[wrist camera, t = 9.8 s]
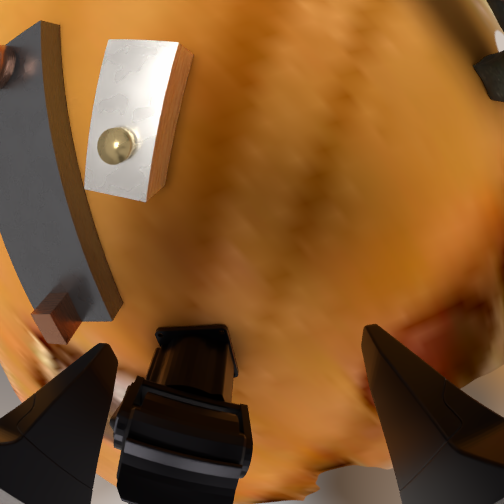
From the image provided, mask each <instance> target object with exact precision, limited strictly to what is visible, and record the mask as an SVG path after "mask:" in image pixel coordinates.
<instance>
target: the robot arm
mask: <svg viewBox="0 0 504 504" xmlns="http://www.w3.org/2000/svg"><path fill="white" fill-rule="evenodd" d="M220 330H222V331H224V332H221V331H220ZM160 333H161V334H160ZM162 334H163V335H162ZM155 336H156V338H157V340H158V343H159V345H160V348H157V349H156V350H155V353H154V355H153V358H152V361H151V364H150V367H149V369H148V372H147V375H146V378H145V379H144V378H143V377H140V376H137V378H136V380H135V382H134V383H133V382H132V384H131V385H130V386H128V388H127V391H126V393H125V396H124V398H123V401H122V402H121V404H120V406H119V407H118V408H117V410H116V411H115V413H114V414H113V416H112V417H111V419H110V426H111V428H112V430H113V431H114V435H113V436H114V448H117V449H120V450H121V455H120V460H119V466H118V471H117V480H118V481H117V489H118V492H119V495H120V498H121V500H122V501H124V502H127V503H128V504H233V501H234V495H235V490H236V487H237V483H238V480H239V478H243V477H244V476H245V475H246V473H247V471H248V468H249V466H250V462H251V457H252V450H253V440H252V433H251V426H250V420H249V413H248V406H247V405H244V404H240V405H239V404H234V403H231V400H232V388H233V378H234V377H237V376H238V367H237V363H236V360H235V356H234V352H233V348H232V344H231V340H230V336H229V332H228V329H227V327H226V326H224V325H214V326H198V327H178V328H158V329H157V330H156V333H155ZM361 347H362V353H363V358H364V362H365V367H366V372H367V377H368V382H369V387H370V390H371V394H372V397H373V400H374V403H375V406H376V409H377V413H378V416H379V419H380V422H381V426H382V429H383V432H384V436H385V439H386V443H387V446H388V450H389V453H390V457H391V460H392V464H393V468H394V471H395V475H396V479H397V483H398V487H399V491H400V496H401V500H402V504H504V417H502V416H500V415H498V414H497V413H495V412H494V411H492V410H490V409H489V408H487V407H485V406H484V405H482V404H481V403H479V402H478V401H476V400H475V399H473V398H472V397H470V396H469V395H467V394H466V393H464V392H463V391H462V390H460V389H459V388H458V387H456V386H455V385H454V384H452V383H451V382H450V381H449V380H447V379H446V380H445V377H444V376H442V375H441V374H440V373H438V372H437V371H436V370H435V369H433V368H432V367H431V366H430V365H428V364H427V363H426V362H425V361H423V360H422V359H421V358H419V357H418V356H417V355H416V354H414V353H413V352H412V351H411V350H409V349H408V348H407V347H405V346H404V345H403V344H402V343H400V342H399V341H398V340H396V339H395V338H394V337H393V336H391V335H390V334H389V333H387V332H386V331H385V330H384V329H382V328H381V327H380V326H378V325H377V324H372V325H366V326H365V327H364V329H363V336H362V343H361ZM117 367H118V360H117V357H116V356H115V354H114V352H113V350H112V348H111V347H110V345H109V344H107V343H99V344H97V345H96V346H94V347H93V348H92V349H90V350H89V351H88V352H86V353H85V354H84V355H83V356H81V357H80V358H79V359H77V360H76V361H75V362H74V363H72V364H71V365H70V366H69V367H67V368H66V369H65V370H63V371H62V372H61V373H60V374H58V375H57V376H56V377H55V378H53V379H52V380H51V381H50V382H48V383H47V384H46V385H44V386H43V387H42V388H41V389H39V390H38V391H37V392H36V393H34V394H33V395H32V396H31V397H29V398H28V399H27V400H26V401H24V402H23V403H22V404H20V405H19V406H18V407H16V408H15V409H13V410H12V411H10V412H9V413H8V414H6V415H5V416H3V417H2V418H0V504H91V497H92V491H93V490H92V489H93V484H94V478H95V473H96V468H97V462H98V457H99V453H100V448H101V443H102V439H103V434H104V430H105V426H106V422H107V417H108V413H109V409H110V405H111V401H112V397H113V391H114V385H115V379H116V373H117Z"/></svg>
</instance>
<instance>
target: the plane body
mask: <svg viewBox="0 0 504 504" xmlns="http://www.w3.org/2000/svg"><path fill="white" fill-rule="evenodd" d="M0 233H1V235H2V238H3V241H4V244H5V246H6V249H7V251H8V254H9V256H10V259H11V261H12V264H13V266H14V268H15V271H16V273H17V275H18V277H19V280H20V282H21V284H22V286H23V288H24V290H25V292H26V294H27V296H28V298H29V300H30V302H31V304H32V306H33V308H34V311H33V312H32V313H31V315H32V317H33V319H34V321H35V323H36V324H37V326H38V328H39V330H40V331H41V333H42V335H43V336H44V338H45V340H46V341H47V343H53V344H65V345H67V344H68V342H69V341H70V339H71V337H72V336H73V334H74V333H75V331H76V330H77V328H78V327H79V325H80V324H81V322H82V321H113V319H114V318H115V316H116V314H117V312H118V311H119V309H120V307H121V306H122V304H123V302H122V300H121V297H120V295H119V292H118V290H117V287H116V285H115V282H114V280H113V277H112V275H111V272H110V269H109V267H108V264H107V261H106V258H105V255H104V253H103V250H102V247H101V244H100V241H99V238H98V235H97V232H96V229H95V226H94V222H93V219H92V216H91V212H90V209H89V206H88V202H87V199H86V195H85V191H84V187H83V184H82V180H81V176H80V172H79V167H78V163H77V159H76V154H75V149H74V145H73V140H72V134H71V129H70V123H69V118H68V111H67V105H66V98H65V90H64V82H63V72H62V61H61V46H60V25H57V24H53V23H49V22H45V21H39V22H37V23H36V24H34V25H33V26H31V27H30V28H28V29H27V30H25V31H24V32H23V33H21V34H20V35H18V36H17V37H16V38H14V39H13V40H12V41H10V42H9V43H8V44H6V45H0Z"/></svg>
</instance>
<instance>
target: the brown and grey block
mask: <svg viewBox="0 0 504 504" xmlns="http://www.w3.org/2000/svg"><path fill="white" fill-rule="evenodd" d="M193 56H194V55H193V54H192V53H191V52H190V51H188V50H187V49H186V48H185V47H184V46H182V45H181V44H180V43H178V42H167V41H153V40H125V39H110V40H108V44H107V47H106V51H105V55H104V59H103V63H102V67H101V71H100V76H99V80H98V85H97V90H96V95H95V100H94V106H93V112H92V118H91V125H90V132H89V140H88V148H87V158H86V170H85V184H84V189H86V190H91V191H96V192H100V193H105V194H110V195H115V196H119V197H124V198H129V199H133V200H138V201H142V202H147V201H148V200H149V199H150V198H151V197H152V196H153V195H155V194H156V193H157V192H158V191H159V190H160V189H161V188H162V187H164V186H165V182H166V176H167V170H168V165H169V159H170V154H171V149H172V144H173V139H174V134H175V129H176V124H177V120H178V115H179V111H180V107H181V102H182V98H183V94H184V90H185V86H186V82H187V78H188V74H189V71H190V67H191V63H192V60H193Z"/></svg>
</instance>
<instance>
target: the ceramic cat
mask: <svg viewBox="0 0 504 504" xmlns="http://www.w3.org/2000/svg"><path fill="white" fill-rule="evenodd" d="M487 2H488V4H489V6H490V8H491V9H492V11H493V13H494V15H495V17H496V19H497V21H498V23H499V25H500V27H501V28H502V30H503V32H504V0H487ZM473 67H474V69H475V70H476V72H477V73H478V75H479V76H480V77H481V79H482V81H483V83H484V85H485V87H486V89H487V92H488V94H489V97H490V99H492V100H495V101H501V102H504V51H502V52H498V53H495V54H491V55H488V56H486V57H484V58H483V59H482V60H481V61H480V62H479V63H477V64H476V65H474V66H473Z"/></svg>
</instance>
